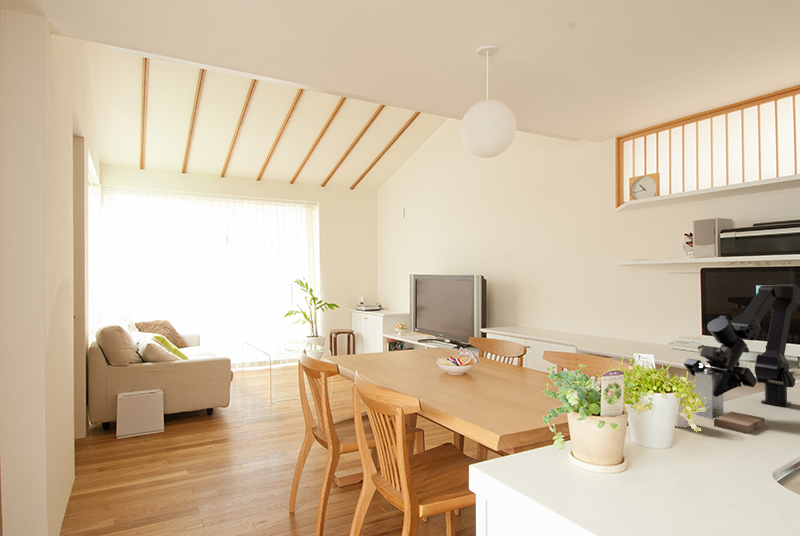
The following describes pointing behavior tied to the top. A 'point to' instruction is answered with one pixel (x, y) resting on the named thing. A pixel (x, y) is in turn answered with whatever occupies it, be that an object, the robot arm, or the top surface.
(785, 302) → the robot arm
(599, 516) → the top surface
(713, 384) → the housing
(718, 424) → the plinth
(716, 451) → the top surface
